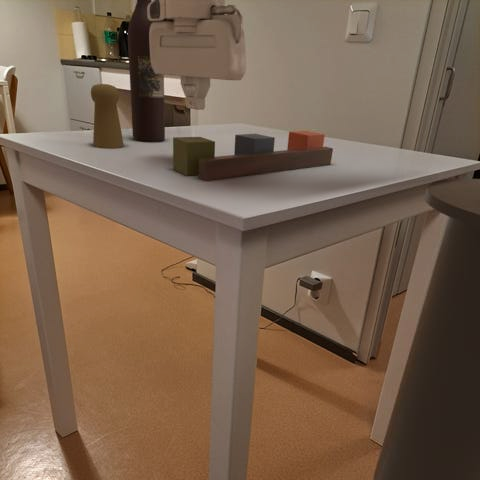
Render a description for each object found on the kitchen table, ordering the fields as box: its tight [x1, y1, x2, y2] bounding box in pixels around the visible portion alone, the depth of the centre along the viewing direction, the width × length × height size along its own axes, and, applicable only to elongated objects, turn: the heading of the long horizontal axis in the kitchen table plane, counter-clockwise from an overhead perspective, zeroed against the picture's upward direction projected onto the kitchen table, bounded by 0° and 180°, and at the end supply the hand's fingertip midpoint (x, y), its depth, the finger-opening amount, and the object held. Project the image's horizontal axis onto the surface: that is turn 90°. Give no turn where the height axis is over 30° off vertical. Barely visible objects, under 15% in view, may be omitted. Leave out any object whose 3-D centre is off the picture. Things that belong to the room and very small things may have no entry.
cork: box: [90, 83, 125, 149], centre depth 89 cm, size 6×6×11 cm
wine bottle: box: [127, 0, 166, 143], centre depth 94 cm, size 7×7×30 cm
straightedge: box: [198, 146, 334, 182], centre depth 79 cm, size 2×31×3 cm, turn 132°
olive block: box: [172, 136, 216, 177], centre depth 74 cm, size 5×5×5 cm
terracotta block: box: [286, 130, 326, 150], centre depth 90 cm, size 5×5×5 cm
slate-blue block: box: [233, 133, 276, 155], centre depth 82 cm, size 5×5×5 cm
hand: (195, 108), depth 75 cm, fingers closed
